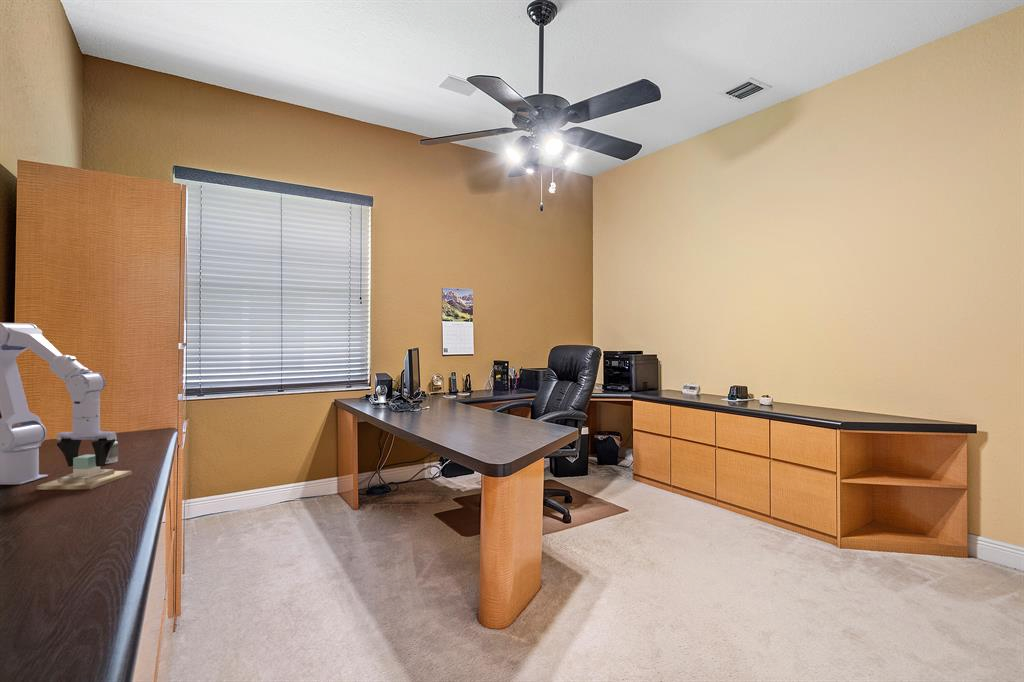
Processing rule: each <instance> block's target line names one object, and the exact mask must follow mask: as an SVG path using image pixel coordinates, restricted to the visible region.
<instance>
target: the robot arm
mask: <svg viewBox="0 0 1024 682" xmlns="http://www.w3.org/2000/svg"><path fill="white" fill-rule="evenodd" d="M27 350H30V351H31V352H32V353H34V354H36V356H38V357H40V358H41V359H43V360H44V361H46V362H47V363H48V364H49V365H48V369H49V371H51V372H52V373H53V374H54V375H55V376H57V377H58V378H60V380H61V381H63V382H64V383H65V388H66V390H67V392H68V393H69V395H70V397H69V398H70V399H69V400H71V402H72V431H62V432H57V433H56V441H59V442H56V446H57V447H58V448H59V450H60V451H61V452H62V454H63V456H64V458H65V461H66V463H67V467H68V468H69V467H73V458H75V457H79V450H80V446H81V443H82V440H83V441H85V440H86V441H87V440H91V445H92V448H93V452H94V454H95V460H96V466H97V467H99V466H100V467H102V466H105V465H106V464H105V462H106V459H107V456H108V453H109V451H110V449H111V447H112V445H113V444H114V442H115V439H116V438H117V432H116V431H108V430H107V431H106V430H101V392H102V391H103V390H104V389H105V388H106V378H105V376H103V375H102V373H100V372H97V371H95V372H94V371H92V370H90V369H89V368H88V367H85V365H83V364H82V363H80V362H79V361H78V360H77V359H78V358H77V357H75V356H74V355H69V354H63V353H61V352H60V351H59V350H58V349H57V348H56V347H55V346H54V345H53V344H52V343H50V341H49V340H48V339H46V338H45V336H43V330H42V329H40V328H39V327H38V326H37V325H35V324H34V323H32V322H26V323H22V322H21V323H20V322H19V323H18V322H0V414H1V418H0V485H23V484H26V483H30V482H34V481H36V480H40V479H43V478H47V477H48V476H49V474H40V471H39V470H40V469H39V468H40V457H39V456H40V455H39V453H40V452H39V451H40V450H39V449H40V448H39V447H42V443H43V442H44V441H45V440H46V439H47V435H48V434H47V432H48V430H47V428H46V426H45V425H44V424H43V422H42V421H41V420H42V419H41V417H40V416H38V415H37V414H35V413H32V412H30V409H29V406H28V402H27V398H26V397H27V396H26V394H25V390H24V386H23V382H22V379H21V374H20V371H19V367H18V362H17V360H16V359H17V357H18V356H19V355H20V354H22V353H24V352H26V351H27ZM92 440H95V441H92ZM116 440H117V439H116Z"/></svg>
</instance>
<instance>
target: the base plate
mask: <svg viewBox="0 0 1024 682" xmlns="http://www.w3.org/2000/svg"><path fill="white" fill-rule="evenodd" d="M132 474H133V470H115V469H114V468H113V469H112V468H111V469H110V468H109V469H107V468H103V469H101V468H100V473H98V474H95V475H92V476H89V477H73V472H72V473H69V474H66V475H63V476H59V477H57V478H56V479H53V480H51V481H48V482H45V483H41V484H39V485H36V491H37V490H93V489H95V488H98V487H101V486H104V485H106V484H109V483H112V482H114V481H119V480H120V479H123V478H126V477H127V476H128V477H129V476H131V475H132Z"/></svg>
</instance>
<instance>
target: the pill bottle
mask: <svg viewBox="0 0 1024 682" xmlns="http://www.w3.org/2000/svg"><path fill="white" fill-rule="evenodd" d="M118 461H119V441H117V437H116V439H115V442H114V444H113V445H112V447H111V449H110V451H109V453H108V456H107V459H106V462H105V465H108V464H109V465H110V464H113V463H117V462H118Z"/></svg>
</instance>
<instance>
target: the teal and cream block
mask: <svg viewBox="0 0 1024 682" xmlns="http://www.w3.org/2000/svg"><path fill="white" fill-rule="evenodd" d="M72 468H73V469H72V471H73V472H72V473H73V477H89V476H92V475H95V474H98V473H100V469H101V466H99V467H97V466H96V460H95V453H94V454H93V453H92V454H83V455H78V457H75V458H73V466H72Z"/></svg>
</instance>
